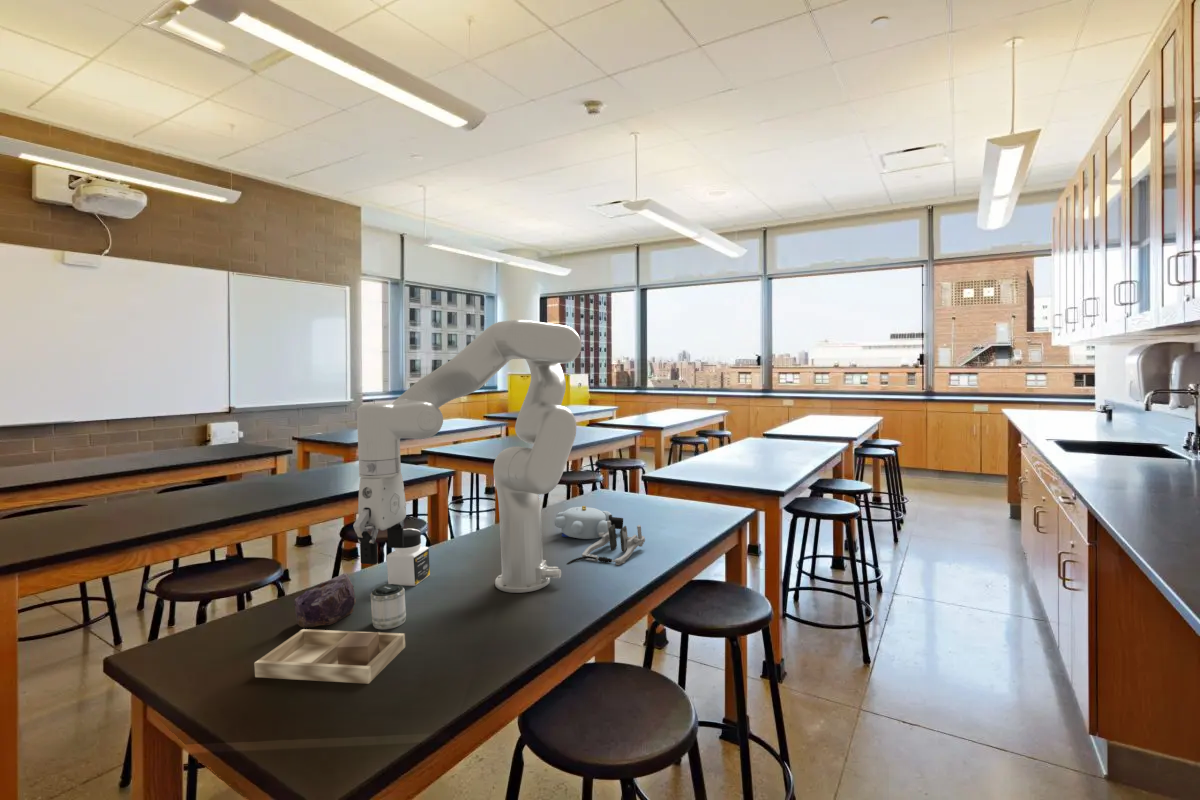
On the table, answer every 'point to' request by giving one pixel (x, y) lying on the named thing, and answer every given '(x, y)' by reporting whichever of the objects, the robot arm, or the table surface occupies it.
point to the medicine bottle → (409, 561)
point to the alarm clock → (585, 522)
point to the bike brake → (614, 544)
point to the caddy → (325, 658)
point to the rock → (325, 602)
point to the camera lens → (388, 606)
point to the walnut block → (358, 649)
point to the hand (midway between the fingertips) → (383, 555)
